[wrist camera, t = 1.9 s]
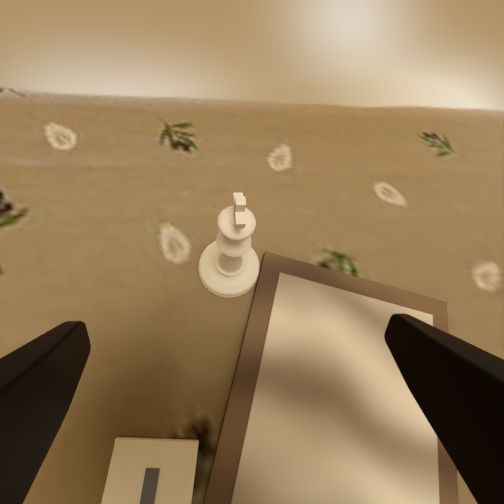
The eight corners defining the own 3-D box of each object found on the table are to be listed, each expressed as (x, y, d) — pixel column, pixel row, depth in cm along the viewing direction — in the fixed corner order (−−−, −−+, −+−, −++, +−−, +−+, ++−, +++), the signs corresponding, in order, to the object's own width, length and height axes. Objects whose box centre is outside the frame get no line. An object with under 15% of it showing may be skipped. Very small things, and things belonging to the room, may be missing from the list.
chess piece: (199, 300, 19) (183, 255, 10) (197, 240, 21) (183, 155, 12) (262, 295, 20) (302, 250, 11) (256, 239, 22) (286, 157, 12)
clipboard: (457, 646, 14) (476, 669, 13) (183, 583, 14) (181, 602, 13) (440, 303, 22) (451, 301, 21) (264, 253, 21) (266, 249, 20)
